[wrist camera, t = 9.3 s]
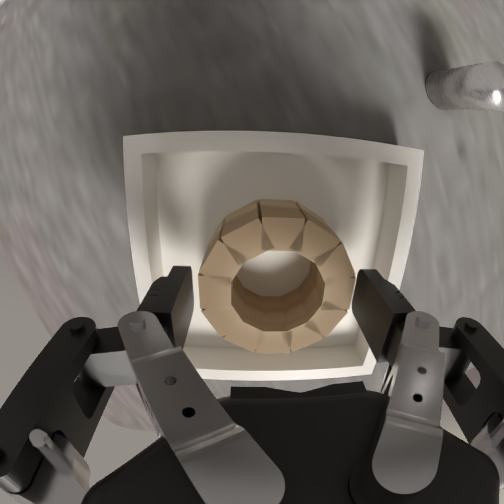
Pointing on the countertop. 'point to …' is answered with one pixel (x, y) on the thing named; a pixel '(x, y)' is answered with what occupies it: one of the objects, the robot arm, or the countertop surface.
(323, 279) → the oak ring
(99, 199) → the countertop surface
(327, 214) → the white tray
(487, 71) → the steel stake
